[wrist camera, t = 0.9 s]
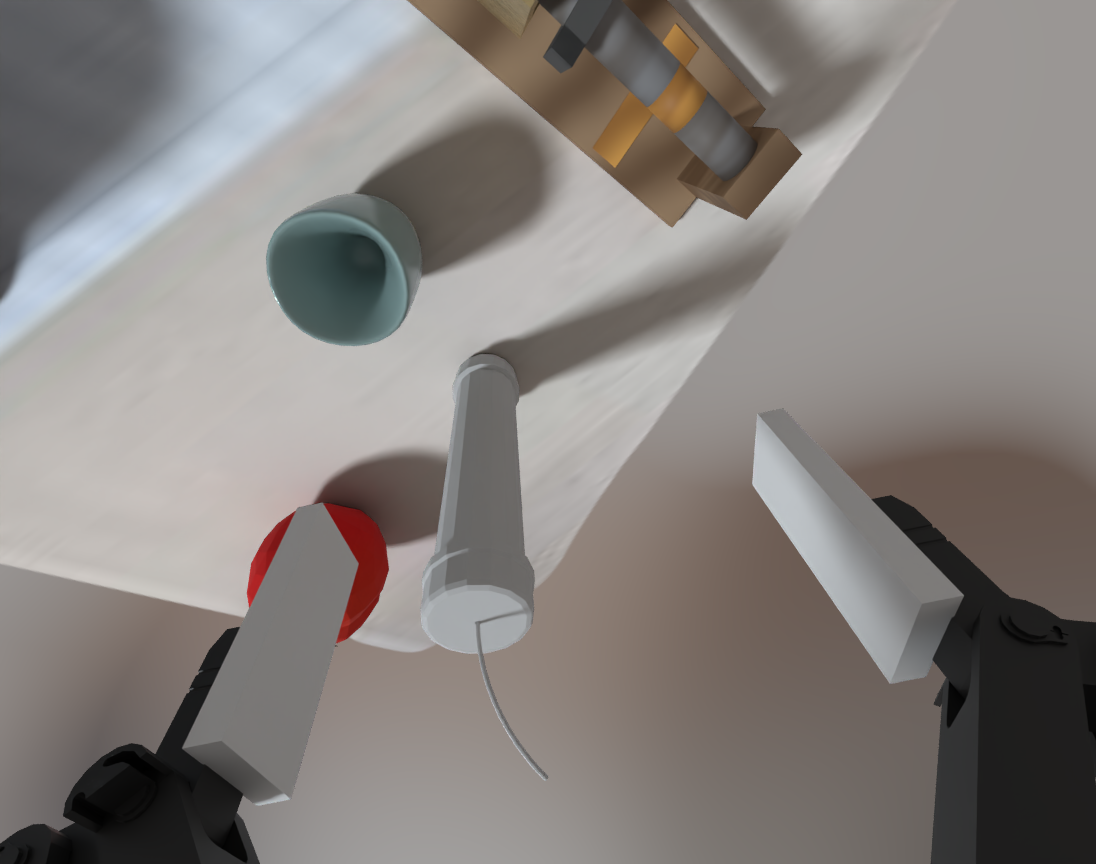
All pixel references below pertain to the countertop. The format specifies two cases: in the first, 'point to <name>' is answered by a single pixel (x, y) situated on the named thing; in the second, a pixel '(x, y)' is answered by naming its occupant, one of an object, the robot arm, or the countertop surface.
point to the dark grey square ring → (575, 33)
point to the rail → (636, 101)
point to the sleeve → (512, 13)
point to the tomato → (365, 549)
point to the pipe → (481, 527)
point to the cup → (346, 269)
